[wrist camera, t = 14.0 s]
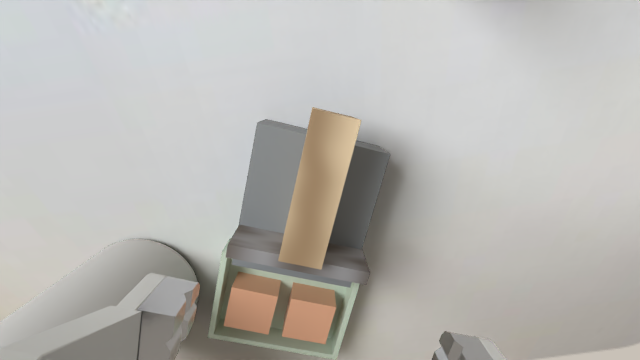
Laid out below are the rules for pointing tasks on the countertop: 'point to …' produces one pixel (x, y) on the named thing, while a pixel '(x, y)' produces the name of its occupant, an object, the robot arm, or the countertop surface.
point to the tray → (279, 313)
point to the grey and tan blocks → (311, 209)
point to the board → (279, 181)
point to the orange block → (252, 303)
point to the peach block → (309, 313)
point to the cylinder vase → (94, 286)
